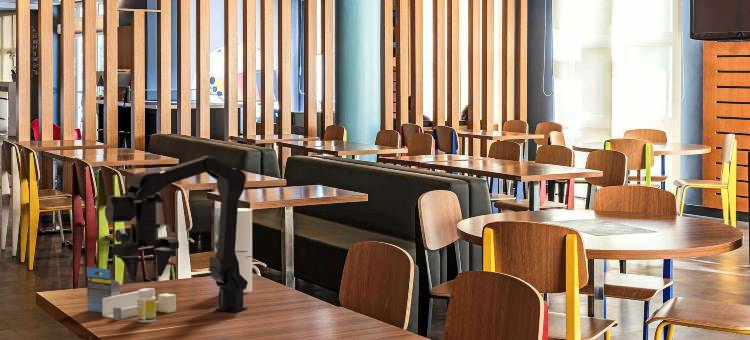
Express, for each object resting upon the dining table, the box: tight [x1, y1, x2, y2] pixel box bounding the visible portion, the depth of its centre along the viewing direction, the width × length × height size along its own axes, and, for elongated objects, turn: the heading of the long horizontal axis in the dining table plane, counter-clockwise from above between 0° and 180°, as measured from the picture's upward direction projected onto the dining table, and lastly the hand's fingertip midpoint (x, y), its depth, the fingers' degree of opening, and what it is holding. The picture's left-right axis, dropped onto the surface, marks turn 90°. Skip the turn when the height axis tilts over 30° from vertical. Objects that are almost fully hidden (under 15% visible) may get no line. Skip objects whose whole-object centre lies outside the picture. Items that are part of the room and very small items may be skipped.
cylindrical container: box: [235, 207, 253, 294], centre depth 322 cm, size 7×7×25 cm
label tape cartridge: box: [86, 266, 121, 313], centre depth 291 cm, size 9×4×12 cm, turn 62°
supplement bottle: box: [137, 287, 157, 324], centre depth 280 cm, size 5×5×8 cm
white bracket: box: [101, 287, 177, 321], centre depth 289 cm, size 10×19×5 cm, turn 145°
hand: (146, 278), depth 279 cm, fingers open, 9 cm apart
